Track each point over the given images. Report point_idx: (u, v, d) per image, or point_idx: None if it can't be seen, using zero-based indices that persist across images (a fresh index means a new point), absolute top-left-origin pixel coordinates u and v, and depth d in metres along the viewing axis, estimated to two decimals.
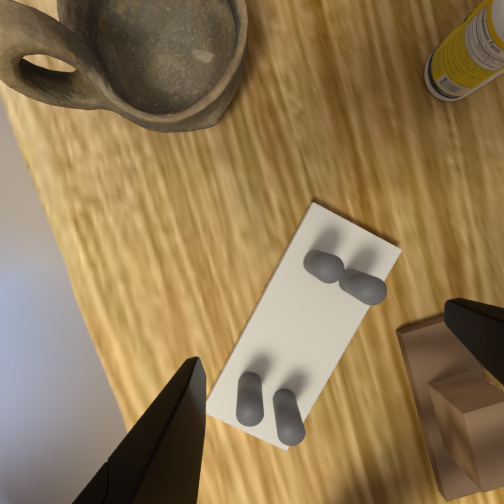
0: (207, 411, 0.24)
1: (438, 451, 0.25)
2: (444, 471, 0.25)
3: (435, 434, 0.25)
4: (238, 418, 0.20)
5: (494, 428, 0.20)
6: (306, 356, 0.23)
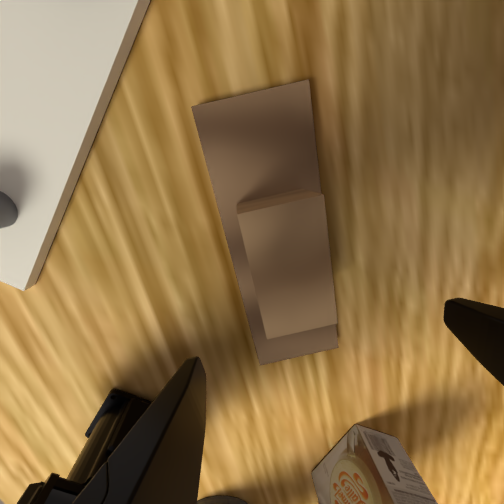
0: None
1: (251, 305, 0.18)
2: (258, 330, 0.19)
3: (247, 281, 0.17)
4: None
5: (289, 244, 0.12)
6: (18, 130, 0.13)
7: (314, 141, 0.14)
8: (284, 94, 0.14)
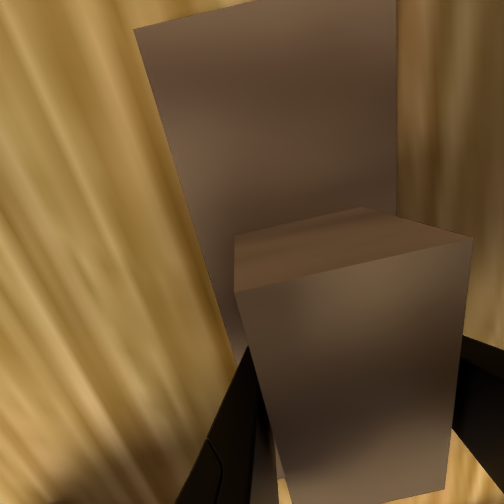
0: None
1: None
2: None
3: None
4: None
5: (365, 356, 0.05)
6: None
7: (394, 112, 0.07)
8: (339, 4, 0.06)
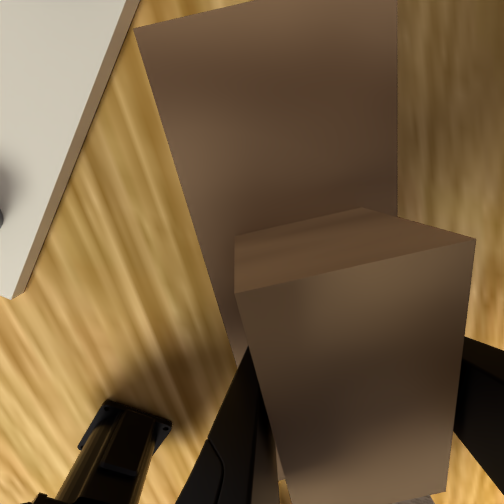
0: None
1: None
2: None
3: None
4: None
5: (366, 357, 0.05)
6: (2, 131, 0.12)
7: (395, 112, 0.07)
8: (340, 3, 0.06)
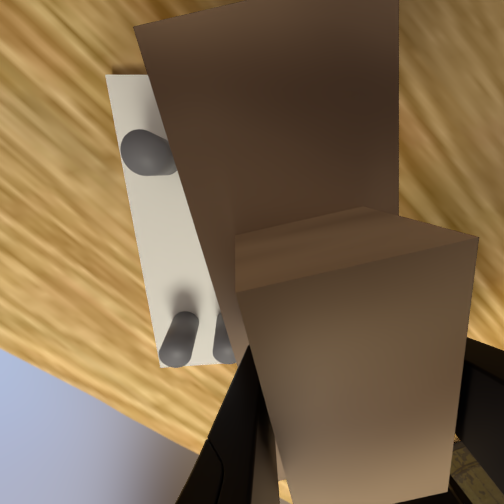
0: (165, 365, 0.23)
1: None
2: None
3: None
4: (167, 364, 0.18)
5: (368, 357, 0.05)
6: None
7: (396, 110, 0.07)
8: (342, 1, 0.06)
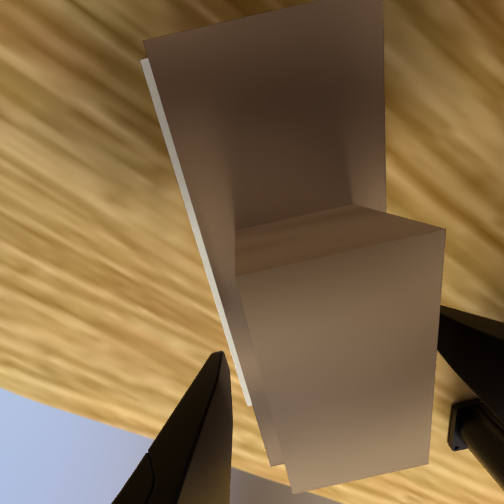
0: None
1: (258, 387, 0.11)
2: (269, 421, 0.12)
3: (253, 354, 0.11)
4: None
5: (352, 335, 0.06)
6: None
7: (382, 116, 0.08)
8: (331, 17, 0.07)
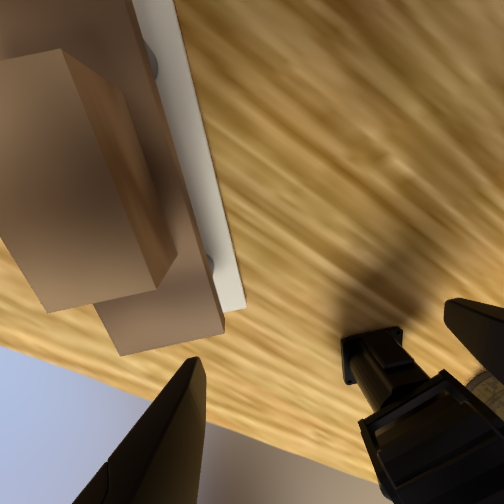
0: None
1: None
2: (106, 308, 0.14)
3: None
4: None
5: (28, 147, 0.07)
6: None
7: (124, 8, 0.09)
8: None
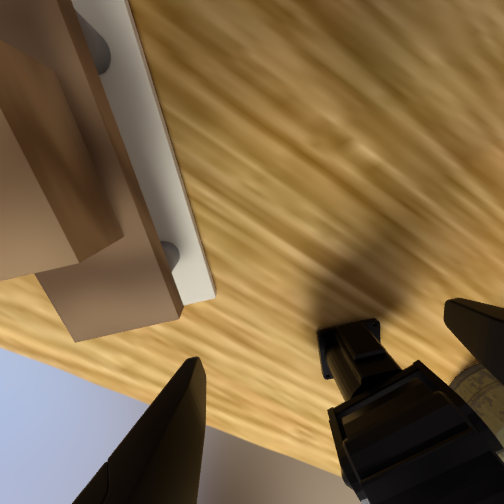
0: None
1: None
2: (57, 292, 0.14)
3: None
4: None
5: None
6: None
7: None
8: None
